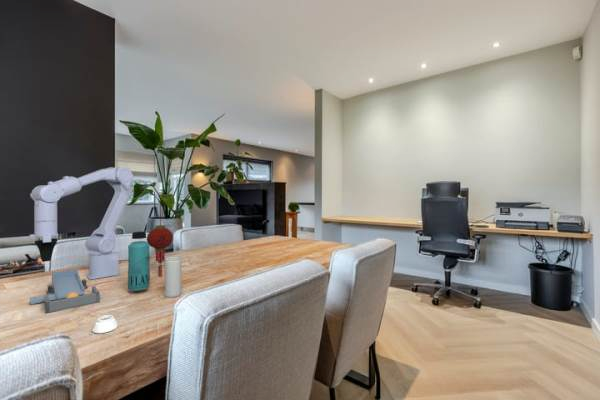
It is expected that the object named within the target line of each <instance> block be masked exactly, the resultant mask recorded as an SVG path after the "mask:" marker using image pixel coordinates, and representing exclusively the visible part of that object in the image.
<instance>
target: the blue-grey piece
mask: <svg viewBox="0 0 600 400" xmlns="http://www.w3.org/2000/svg"><path fill="white" fill-rule="evenodd" d="M51 283H52V290H54V294H49V295H48V297H49V302H50V301H55V300H61V299H66V296H67V295H68V294H69V293H72V292H75V293H77V294H78V295H79V296H82V295H85V290H86V289H85V288H84V286H83V284H82V279H81V276H80V274H79V269H78V268H76V269H68V270H61V271H55V272H51ZM44 295H45V294H44ZM44 295H37V296H32V297H29V305H34V304H39V303H44Z"/></svg>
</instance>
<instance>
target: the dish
mask: <svg viewBox="0 0 600 400" xmlns="http://www.w3.org/2000/svg"><path fill="white" fill-rule="evenodd" d="M100 298H101V293H100V291H99V290H98V288H97V287H96V286H95V285H93V286H91V293H89V294H82V295H79V296H76V297H71V298H61V299H55V300H50V301H49V297H48V294H44V302H43V303H44V312H45V313H44V314H49V313H55V312H60V311H63V310H69V309H73V308H79V307H83V306H87V305H93V304H97V303H98V304H99V303H100V302H101V299H100Z"/></svg>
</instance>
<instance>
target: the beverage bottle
mask: <svg viewBox="0 0 600 400" xmlns="http://www.w3.org/2000/svg"><path fill="white" fill-rule="evenodd" d="M131 234H132V235H131V239H134V240H136V241H132V242H130V244H128V246H127V248H128V250H127V251H128V252H127V253H128V254H127V255H128V256H127V257H128V258H127V260H128V263H127V264H128V265H127V267H128V268H127V289H128V290H129V291H132V292H133V291H142V290H147V288H149V287H150V284H151V282H150V280H151V275H150V272H151V268H150V263H151V260H150V259H151V256H150V254H151V253H150V247H151V246H150V244H149V243H148V242H147V240H145V241H144V240H142V239H147V233H146V231H133V232H132V233H131ZM137 240H139V241H137Z"/></svg>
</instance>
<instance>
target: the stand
mask: <svg viewBox="0 0 600 400" xmlns="http://www.w3.org/2000/svg"><path fill="white" fill-rule="evenodd" d="M81 281H82V284H83V286H84V288H85V290H88V288H89V287H88V285H87V279H86V278H83V279H81ZM45 293H46V294H48V295H49V294H54V290H53V284H47V290H46V291H45ZM46 294H45V295H46Z"/></svg>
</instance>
